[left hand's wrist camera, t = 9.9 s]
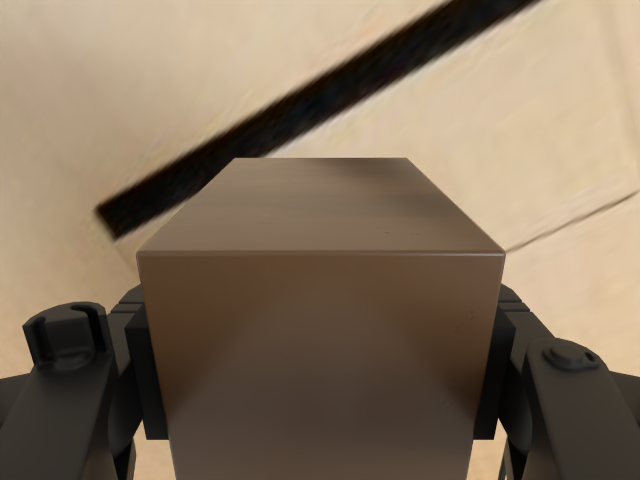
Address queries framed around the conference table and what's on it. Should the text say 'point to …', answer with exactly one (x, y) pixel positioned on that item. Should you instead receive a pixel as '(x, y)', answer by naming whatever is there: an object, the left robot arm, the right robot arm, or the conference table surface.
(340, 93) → the conference table surface
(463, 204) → the conference table surface
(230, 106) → the conference table surface
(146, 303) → the bar
